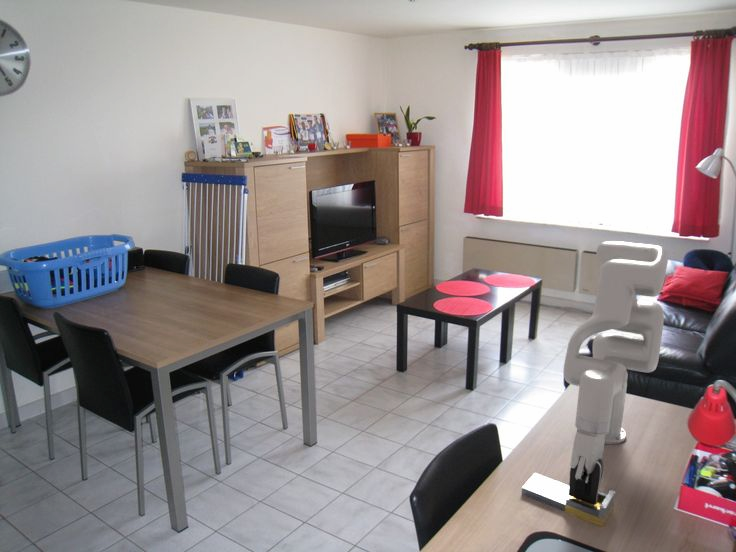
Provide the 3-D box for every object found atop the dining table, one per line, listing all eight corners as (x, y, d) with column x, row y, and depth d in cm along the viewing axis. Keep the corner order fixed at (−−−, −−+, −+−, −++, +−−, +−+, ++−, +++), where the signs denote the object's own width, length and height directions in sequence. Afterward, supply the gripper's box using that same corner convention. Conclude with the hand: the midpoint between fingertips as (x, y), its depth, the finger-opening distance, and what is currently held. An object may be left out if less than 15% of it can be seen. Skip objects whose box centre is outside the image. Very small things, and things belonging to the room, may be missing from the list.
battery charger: (601, 499, 145) (606, 457, 141) (595, 507, 142) (600, 464, 139) (572, 488, 149) (576, 447, 146) (566, 495, 146) (571, 454, 143)
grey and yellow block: (534, 479, 157) (535, 462, 156) (613, 509, 145) (615, 491, 144) (521, 494, 151) (523, 476, 149) (602, 527, 139) (605, 508, 138)
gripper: (588, 403, 148) (581, 468, 153) (563, 431, 135) (556, 501, 140) (619, 413, 144) (611, 479, 149) (597, 442, 131) (588, 514, 136)
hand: (584, 489), depth 144 cm, fingers closed on battery charger, 3 cm apart
